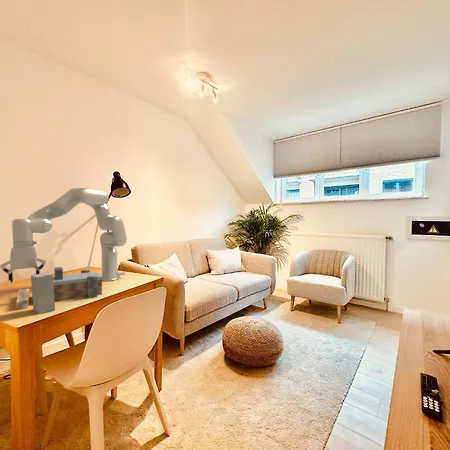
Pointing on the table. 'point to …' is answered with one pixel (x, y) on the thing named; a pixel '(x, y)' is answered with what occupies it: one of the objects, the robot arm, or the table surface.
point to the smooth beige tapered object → (22, 299)
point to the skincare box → (43, 292)
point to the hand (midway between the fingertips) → (24, 280)
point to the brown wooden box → (78, 289)
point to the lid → (71, 277)
